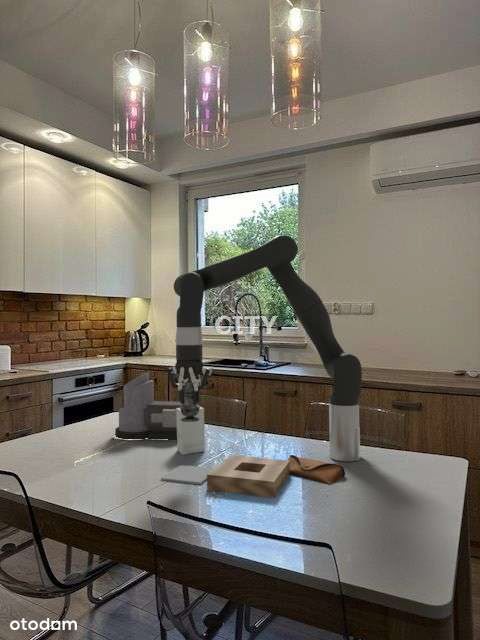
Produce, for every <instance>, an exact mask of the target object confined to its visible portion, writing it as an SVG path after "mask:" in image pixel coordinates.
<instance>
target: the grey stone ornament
mask: <svg viewBox="0 0 480 640" xmlns="http://www.w3.org/2000/svg"><path fill="white" fill-rule="evenodd" d="M194 391H195V390H194V386H193V383H192V380H191V379H189V378H188V380H187V382H185V393H184V394H183V395H184V399H185V401H184V405H183V406H181V407H180V409H181V413H182V415H183V416H186V417H183V418H182V419H181V421H184V422H194V421H198V420H199V418H198V417H194V416H196V415H197V414H198V412H199V408H200V407H201V406H200V405H198V404H194ZM197 405H198V406H197Z"/></svg>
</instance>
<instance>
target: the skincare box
mask: <svg viewBox="0 0 480 640" xmlns="http://www.w3.org/2000/svg"><path fill="white" fill-rule="evenodd" d="M196 405H197V406H199V404H196ZM183 417H186V416H183V415H182V413H181V409H180V408H176V420H177V441H176V442H177V443H176V445H177V449H176V450H177V451H178V452H179V453H180V454H181V455H182V456H184V455H189V454H195V453H201V452H205V451H206V443H205V442H206V439H205V408H204V407H201V406H200V408H199V412H198V414H197V415H196V416H194V417H198V418H199V420H198V421H194V422H184V421H181V419H182V418H183Z"/></svg>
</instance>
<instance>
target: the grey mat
mask: <svg viewBox="0 0 480 640" xmlns="http://www.w3.org/2000/svg"><path fill="white" fill-rule="evenodd" d="M214 468H215V467H214ZM214 468H213V467H203V466H195V465H184V464H180V465H178V466H177V467H175V468H174V469H171V471H169V472H168V473H167V474H165V475H163V476H162V477H160V479H161V480H160V481H166V482H174V483H175V482H176V483H183V484H193V485H201V486H202V485H203V484H204V483H205V482H207V474H208V473H209V472H211V471H212V470H213V469H214Z"/></svg>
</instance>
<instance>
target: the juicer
mask: <svg viewBox="0 0 480 640" xmlns="http://www.w3.org/2000/svg"><path fill="white" fill-rule="evenodd" d="M149 378H150V377H149V372H145V373H143V374H141V375H138V376H137V377H135V378H134V379H132V380H130V381H128V382H127V383H126V384H124V385H123V407H122V408H120V409H119V410H118V426H117V427H116V428H115V429H114V430H115V432H114V434H115V435H116V437H118V438H122V439H145V438H148V439H168V440H177V420H176V408H180V407H181V406H183V405H184V404H181V403H180V401H168V400H167V401H166V400H165V401H164V400H163V401H162V400H160V401H158V400H155V398H154V397H155V396H154V392H155V391H154V389H155V386H154V381H155V380H153V379H151V380H149Z"/></svg>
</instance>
